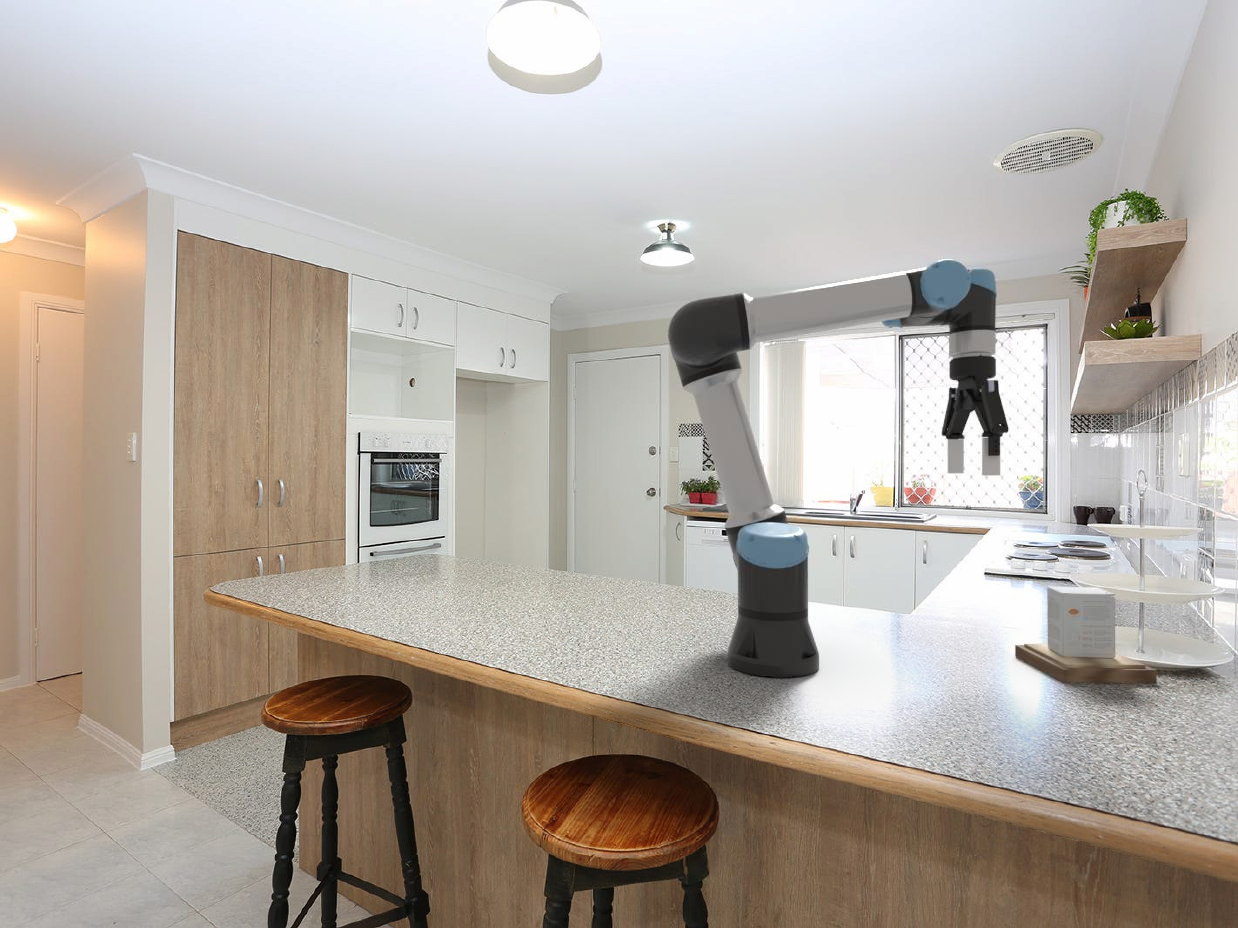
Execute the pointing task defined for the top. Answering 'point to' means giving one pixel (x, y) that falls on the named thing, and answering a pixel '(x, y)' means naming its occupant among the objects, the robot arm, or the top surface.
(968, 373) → the robot arm
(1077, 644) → the small box
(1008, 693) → the top surface
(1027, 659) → the stand
